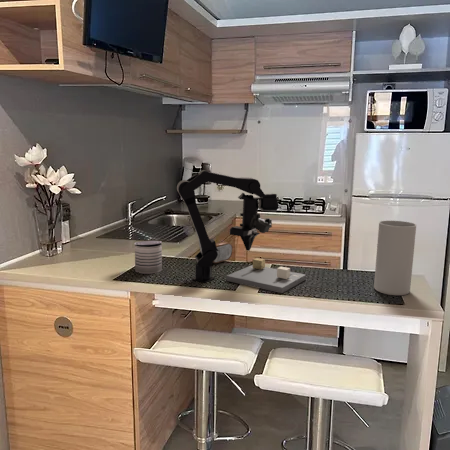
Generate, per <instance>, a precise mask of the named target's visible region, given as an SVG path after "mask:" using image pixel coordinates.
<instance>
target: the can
mask: <svg viewBox="0 0 450 450" xmlns="http://www.w3.org/2000/svg"><path fill="white" fill-rule="evenodd" d="M162 243H163V242H162V241H161V240H142V241H135V242H134V243H133V245H134V271H135V272H136V273H138V272H139V274H147V275H148V274H150V275H151V274H157V273H160V272H161V271H163V254H162V253H163V252H162V251H163V248H162V247H163V245H162Z"/></svg>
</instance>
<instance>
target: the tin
mask: <svg viewBox="0 0 450 450" xmlns="http://www.w3.org/2000/svg"><path fill="white" fill-rule="evenodd" d="M216 248H217V249H218V250H219V251H217V253H218V256H217V258H216V259H215V260H214V261H213V263H212V264H219V263H222V262H223V263H224V262H226V261H228V260H230V258H231V257H232V255H233V245H232V244H231V243H230V242H227V241H221V242H218V243H216Z"/></svg>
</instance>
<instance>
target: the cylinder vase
mask: <svg viewBox="0 0 450 450" xmlns="http://www.w3.org/2000/svg"><path fill="white" fill-rule="evenodd" d="M377 231H378V232H377V244H376V254H375V255H376V257H375V258H376V259H375V271H374V281H373V282H374V283H373V288H374V289H375V291H376V292H378V293H380V294H384V295H389V296H405V295H408V294H409V293H411V285H412V284H411V283H412V275H413V265H414V264H413V263H414V253H415V245H416V244H415V243H416V232H417V224H416V223H414V222H409V221H402V220H381V221H379V222H378V230H377Z"/></svg>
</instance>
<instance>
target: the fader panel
mask: <svg viewBox="0 0 450 450" xmlns="http://www.w3.org/2000/svg"><path fill="white" fill-rule="evenodd" d="M306 278H307V274H304V273H300V272H299V273H298V272H294V271H290V277H289V278H287V279H284V278H279V277H277V268H272V267H268V266H265V268H263V269H256V268H253V264H251V265H249V266H246V267H244V268H242V269H239V270H236V271H234V272H232V273H230V274H226V281H227V282H231V283H234V284H235V283H236V284H239V285H243V286H249V287H253V288H256V289H257V288H258V289H262V290H265V291H272V292H276V293H280V294H283V293H285V292H287V291H289V290H290V289H292V288H294V287H295V286H297V285H299V284H301V283H303V282H305V281H306V280H307V279H306Z"/></svg>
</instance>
